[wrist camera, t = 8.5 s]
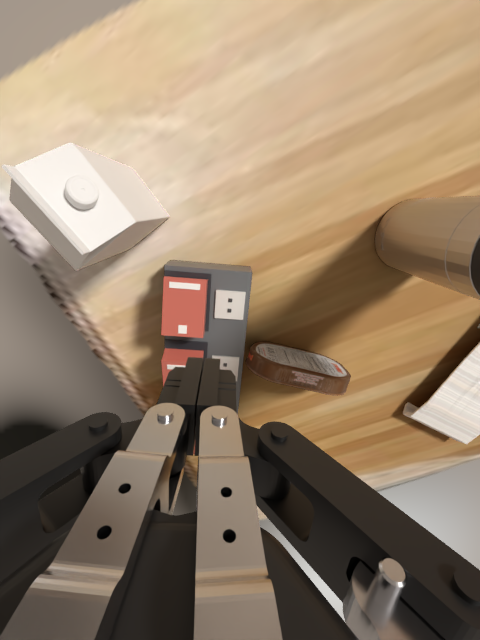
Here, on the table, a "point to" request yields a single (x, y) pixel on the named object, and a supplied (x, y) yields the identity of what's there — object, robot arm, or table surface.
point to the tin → (297, 368)
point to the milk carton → (84, 203)
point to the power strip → (218, 313)
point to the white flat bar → (454, 402)
